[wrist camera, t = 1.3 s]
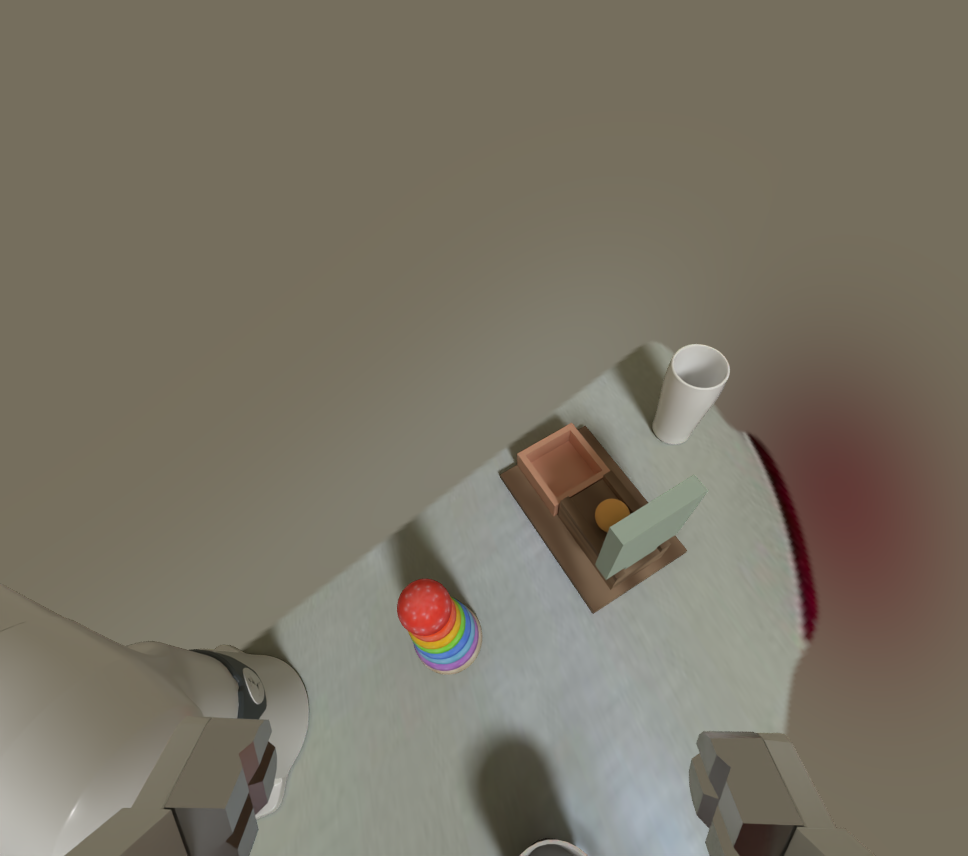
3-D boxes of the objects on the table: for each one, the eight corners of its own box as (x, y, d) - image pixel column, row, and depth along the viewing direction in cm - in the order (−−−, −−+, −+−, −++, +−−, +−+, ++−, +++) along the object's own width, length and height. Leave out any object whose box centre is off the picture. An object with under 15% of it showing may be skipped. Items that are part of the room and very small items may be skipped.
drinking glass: (636, 421, 78) (658, 356, 65) (676, 401, 79) (706, 334, 66) (665, 458, 75) (694, 399, 62) (706, 438, 76) (743, 375, 63)
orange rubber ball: (606, 544, 64) (611, 533, 61) (586, 516, 66) (589, 504, 63) (634, 527, 65) (640, 514, 62) (613, 500, 67) (618, 487, 64)
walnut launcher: (592, 613, 65) (599, 602, 60) (500, 477, 75) (498, 457, 70) (685, 552, 68) (698, 536, 63) (584, 429, 78) (589, 406, 72)
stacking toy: (485, 606, 67) (472, 562, 50) (479, 678, 63) (463, 655, 46) (421, 601, 67) (388, 556, 51) (411, 672, 64) (372, 648, 47)
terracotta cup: (553, 516, 71) (554, 506, 68) (517, 465, 75) (517, 453, 72) (607, 483, 72) (611, 472, 69) (569, 435, 76) (571, 422, 73)
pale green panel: (604, 582, 62) (623, 545, 50) (593, 567, 63) (609, 527, 51) (674, 537, 64) (708, 490, 52) (663, 523, 65) (693, 474, 53)
